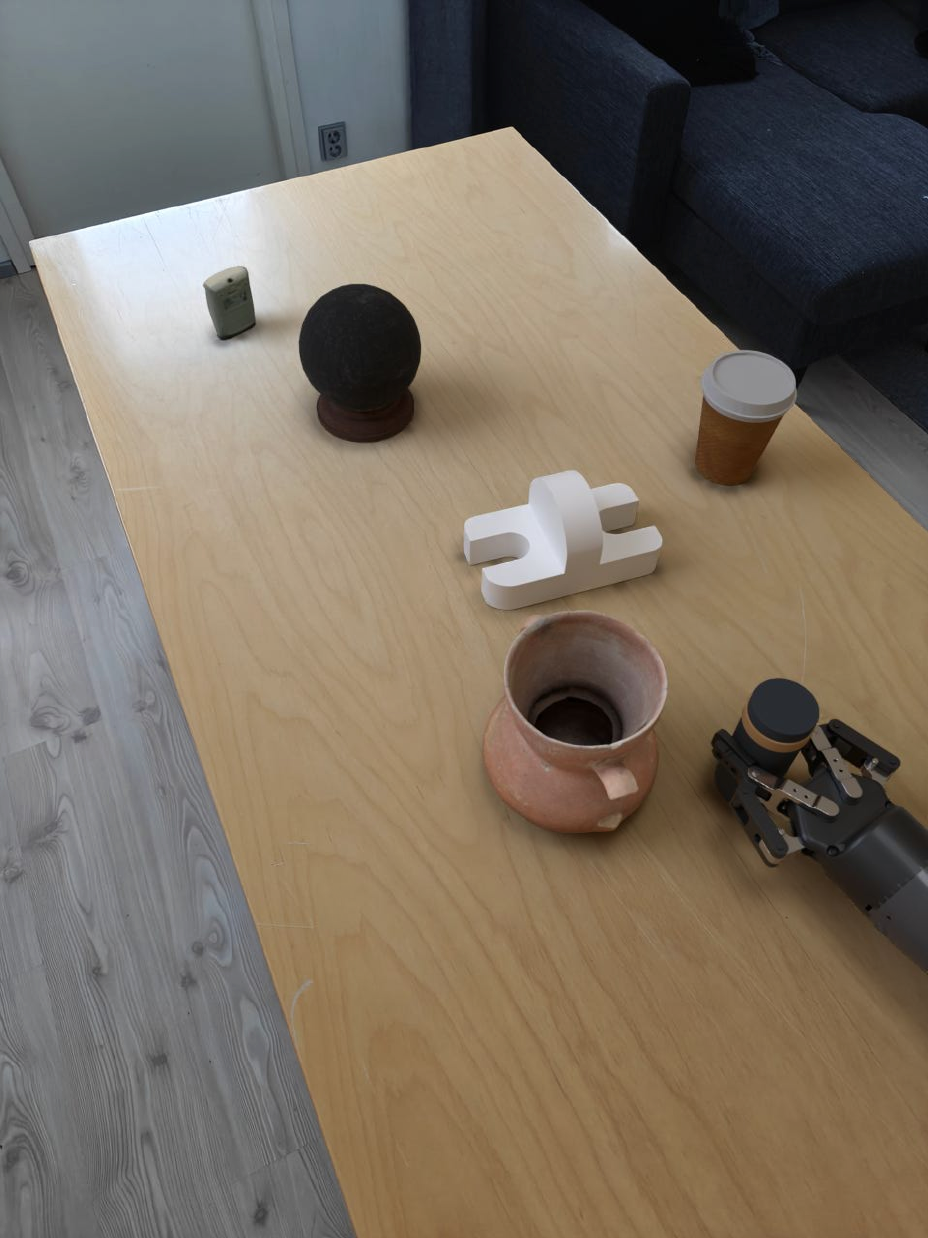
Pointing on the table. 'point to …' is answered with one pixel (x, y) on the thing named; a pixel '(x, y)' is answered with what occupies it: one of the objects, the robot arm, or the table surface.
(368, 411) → the ball on stand
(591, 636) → the ceramic jug
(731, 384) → the disposable coffee cup
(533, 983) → the table surface
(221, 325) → the grey rounded block
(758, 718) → the dark cylindrical canister
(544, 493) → the u-slot mount
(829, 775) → the robot arm
